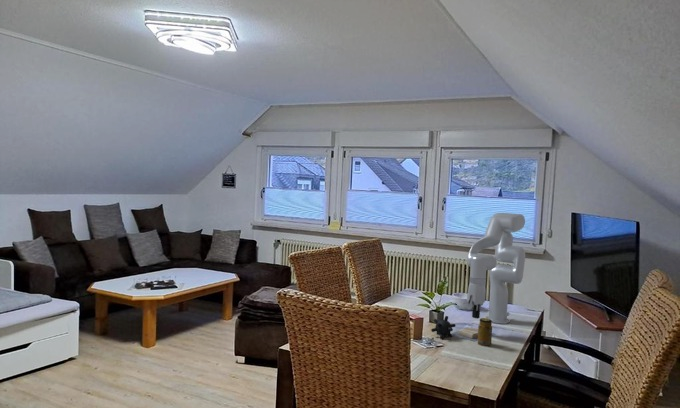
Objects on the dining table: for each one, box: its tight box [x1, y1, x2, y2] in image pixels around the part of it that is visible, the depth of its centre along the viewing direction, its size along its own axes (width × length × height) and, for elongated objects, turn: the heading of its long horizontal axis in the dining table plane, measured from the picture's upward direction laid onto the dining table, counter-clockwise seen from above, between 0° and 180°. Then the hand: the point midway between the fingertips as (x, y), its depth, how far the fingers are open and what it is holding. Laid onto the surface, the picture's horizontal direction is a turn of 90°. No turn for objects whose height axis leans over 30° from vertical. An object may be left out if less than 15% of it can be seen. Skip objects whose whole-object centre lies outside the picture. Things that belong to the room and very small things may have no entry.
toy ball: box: [431, 315, 457, 340], centre depth 221 cm, size 11×11×12 cm
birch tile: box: [457, 326, 478, 338], centre depth 225 cm, size 2×8×10 cm
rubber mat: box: [450, 326, 497, 343], centre depth 227 cm, size 20×14×1 cm
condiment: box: [477, 317, 493, 347], centre depth 211 cm, size 7×8×12 cm
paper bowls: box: [451, 292, 472, 311], centre depth 281 cm, size 15×15×8 cm
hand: (475, 317), depth 228 cm, fingers closed
